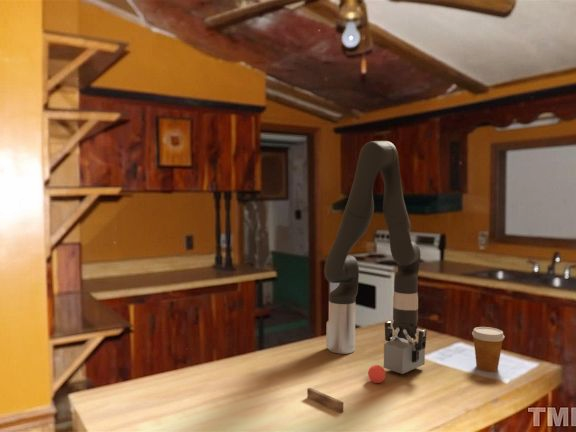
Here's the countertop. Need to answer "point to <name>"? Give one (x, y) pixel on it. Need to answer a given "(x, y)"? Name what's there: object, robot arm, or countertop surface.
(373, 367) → the ball
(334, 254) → the robot arm
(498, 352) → the disposable coffee cup
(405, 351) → the grey rectangular block
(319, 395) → the stopper
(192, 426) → the countertop surface
